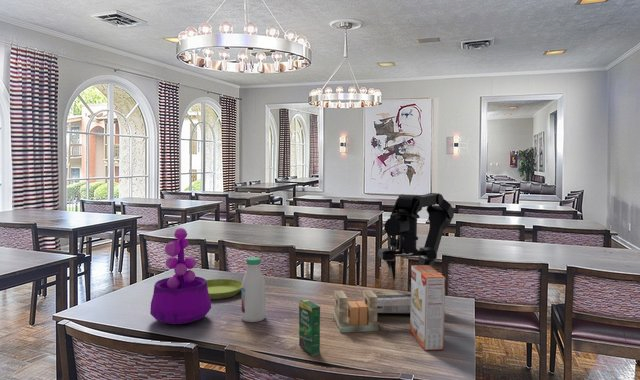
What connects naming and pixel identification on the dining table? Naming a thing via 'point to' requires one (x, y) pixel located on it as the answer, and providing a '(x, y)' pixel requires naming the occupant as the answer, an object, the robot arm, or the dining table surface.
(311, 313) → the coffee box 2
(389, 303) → the shaft
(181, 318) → the decorative plant
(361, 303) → the block
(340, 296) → the frame
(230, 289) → the saucer
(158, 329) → the dining table surface
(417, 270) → the cracker box
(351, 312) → the block
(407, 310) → the coffee box
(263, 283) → the milk bottle
